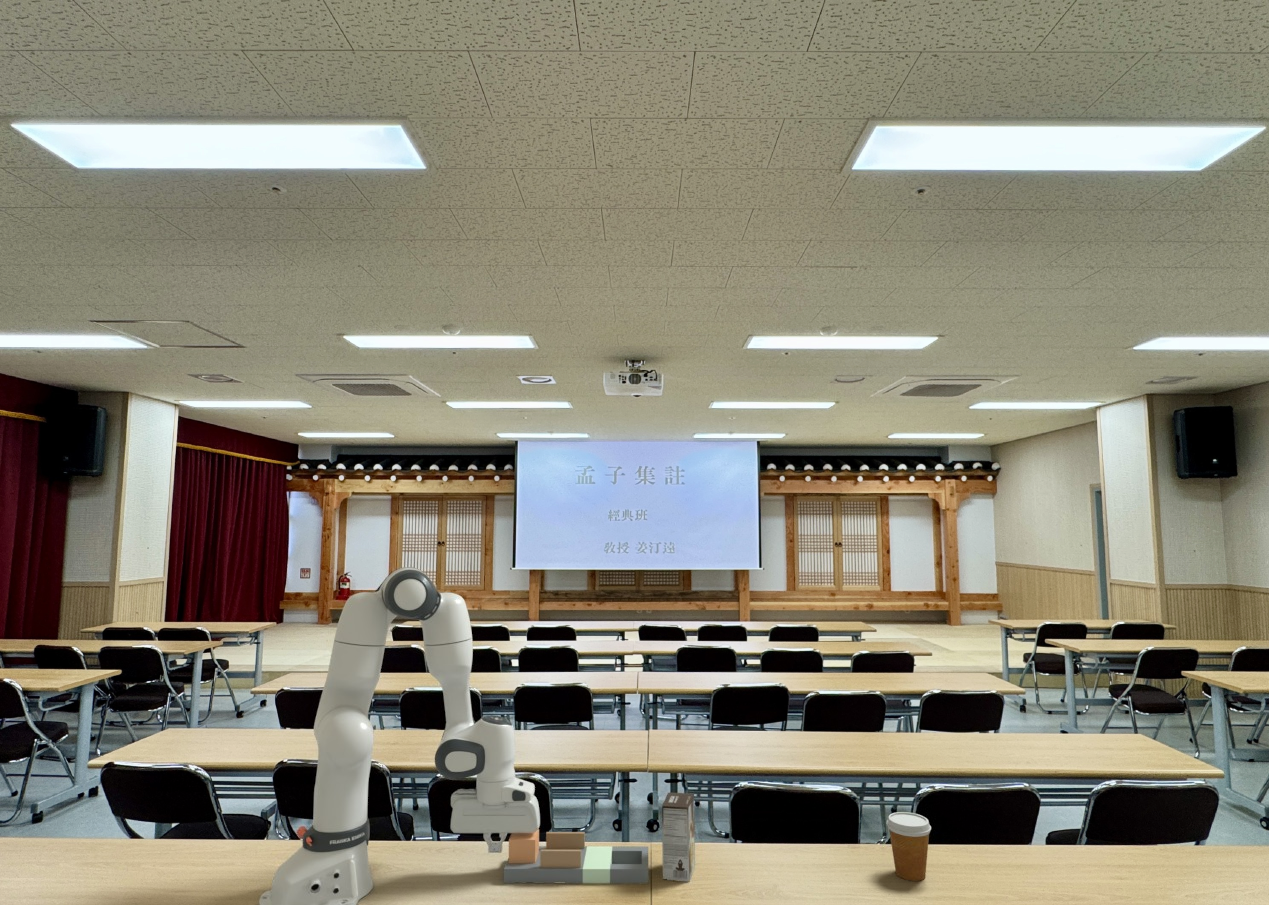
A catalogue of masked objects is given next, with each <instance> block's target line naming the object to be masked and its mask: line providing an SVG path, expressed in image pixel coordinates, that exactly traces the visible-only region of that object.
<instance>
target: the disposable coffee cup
mask: <svg viewBox="0 0 1269 905" xmlns="http://www.w3.org/2000/svg"><path fill="white" fill-rule="evenodd" d="M886 826H887V828H888V831H889V837H890V843H891V844H890V845H891V849H892V856H893V863H894V870H895V874H896V876H898V877H899V878H901V879H903V880H907V881H912V882H919V881H923V880H924V879H926V875H927V874H926V873H927V861H928V850H929V838H930V833H931V830H932V826H931V825H930V822H929V819H928V818H927V817H925V816H923V815H921V814H918V813H914V812H906V811H900V812H898V811H897V812H893V813H890V814H889V815H888V818H887V820H886Z"/></svg>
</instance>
